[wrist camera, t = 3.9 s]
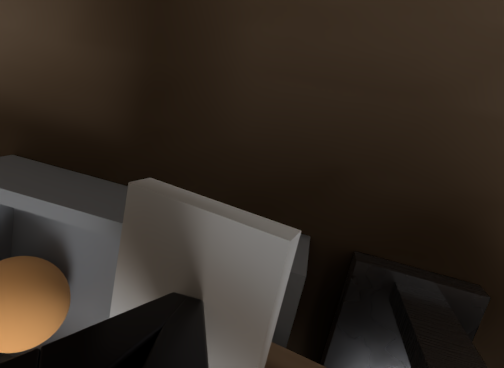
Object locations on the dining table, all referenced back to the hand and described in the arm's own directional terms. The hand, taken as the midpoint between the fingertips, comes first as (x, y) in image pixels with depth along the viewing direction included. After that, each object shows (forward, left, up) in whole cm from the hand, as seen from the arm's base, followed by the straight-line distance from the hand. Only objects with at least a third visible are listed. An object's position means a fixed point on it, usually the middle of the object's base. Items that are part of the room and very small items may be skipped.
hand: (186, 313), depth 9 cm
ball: (-6, +9, -6) cm, 12 cm away
